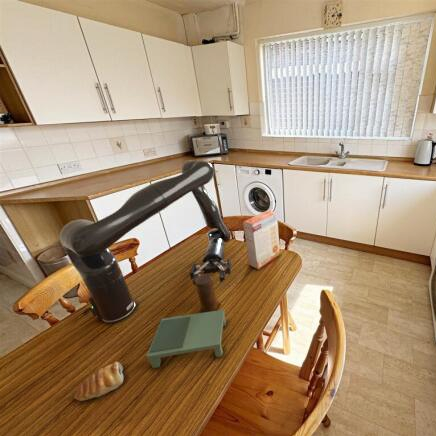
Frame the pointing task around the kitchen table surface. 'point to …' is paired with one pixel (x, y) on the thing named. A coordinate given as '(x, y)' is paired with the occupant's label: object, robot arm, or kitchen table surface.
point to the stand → (187, 335)
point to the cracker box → (262, 238)
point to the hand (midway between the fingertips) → (208, 281)
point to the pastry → (100, 382)
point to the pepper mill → (206, 293)
